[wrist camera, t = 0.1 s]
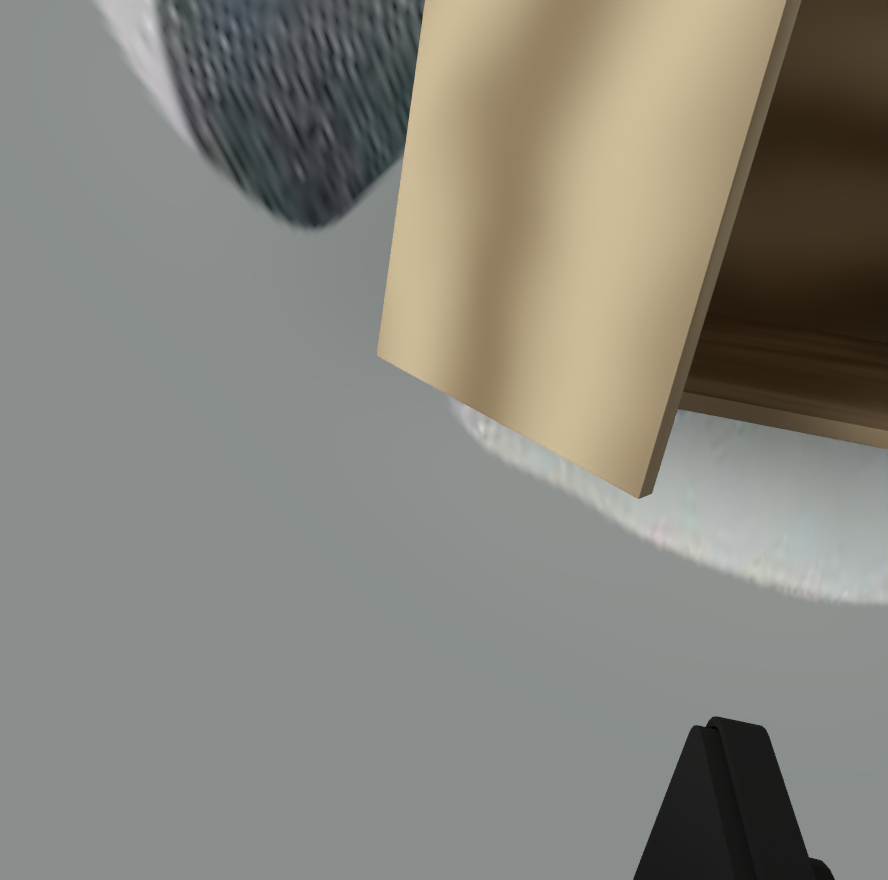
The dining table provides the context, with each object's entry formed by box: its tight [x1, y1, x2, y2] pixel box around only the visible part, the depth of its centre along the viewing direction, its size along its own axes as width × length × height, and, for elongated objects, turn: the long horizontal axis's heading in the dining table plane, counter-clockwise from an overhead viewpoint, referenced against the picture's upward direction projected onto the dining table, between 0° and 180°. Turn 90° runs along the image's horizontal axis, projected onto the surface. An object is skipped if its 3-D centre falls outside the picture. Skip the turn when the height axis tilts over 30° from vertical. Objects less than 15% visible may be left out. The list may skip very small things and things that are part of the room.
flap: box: [377, 0, 801, 499], centre depth 20 cm, size 10×19×1 cm
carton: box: [678, 0, 888, 449], centre depth 29 cm, size 19×21×13 cm
